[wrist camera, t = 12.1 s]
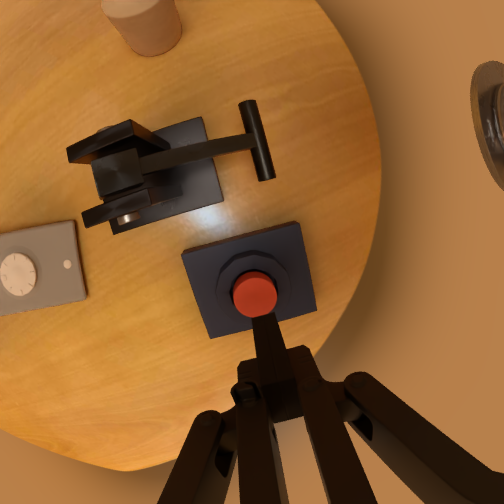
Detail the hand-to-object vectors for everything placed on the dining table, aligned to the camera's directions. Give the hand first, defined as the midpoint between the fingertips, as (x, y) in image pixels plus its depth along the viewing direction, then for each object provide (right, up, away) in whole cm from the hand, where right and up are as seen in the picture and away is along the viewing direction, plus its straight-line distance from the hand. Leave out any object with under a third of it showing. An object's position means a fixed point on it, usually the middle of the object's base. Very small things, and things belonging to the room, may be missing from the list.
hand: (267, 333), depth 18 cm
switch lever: (-6, +11, +1) cm, 13 cm away
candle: (-11, +27, +4) cm, 29 cm away
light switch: (-25, +4, +8) cm, 27 cm away
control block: (-1, +3, +10) cm, 11 cm away
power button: (-1, +2, +7) cm, 8 cm away
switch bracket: (-10, +12, +7) cm, 17 cm away
